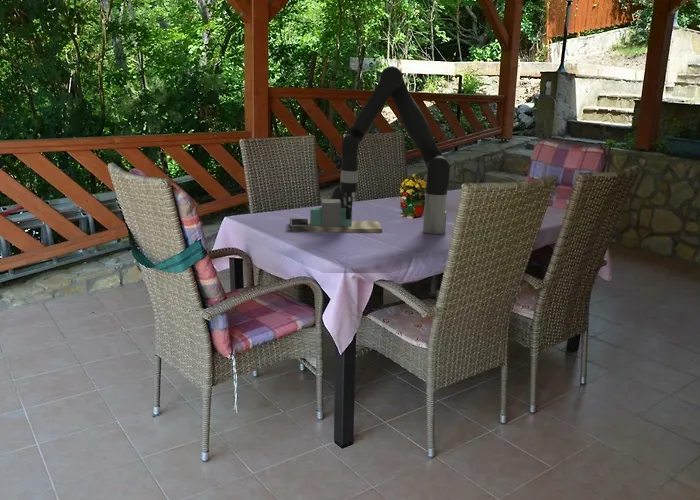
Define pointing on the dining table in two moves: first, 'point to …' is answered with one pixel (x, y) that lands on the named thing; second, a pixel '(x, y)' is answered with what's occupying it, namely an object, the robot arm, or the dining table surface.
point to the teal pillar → (317, 217)
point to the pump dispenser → (338, 195)
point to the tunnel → (331, 213)
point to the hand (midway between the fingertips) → (347, 217)
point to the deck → (356, 227)
